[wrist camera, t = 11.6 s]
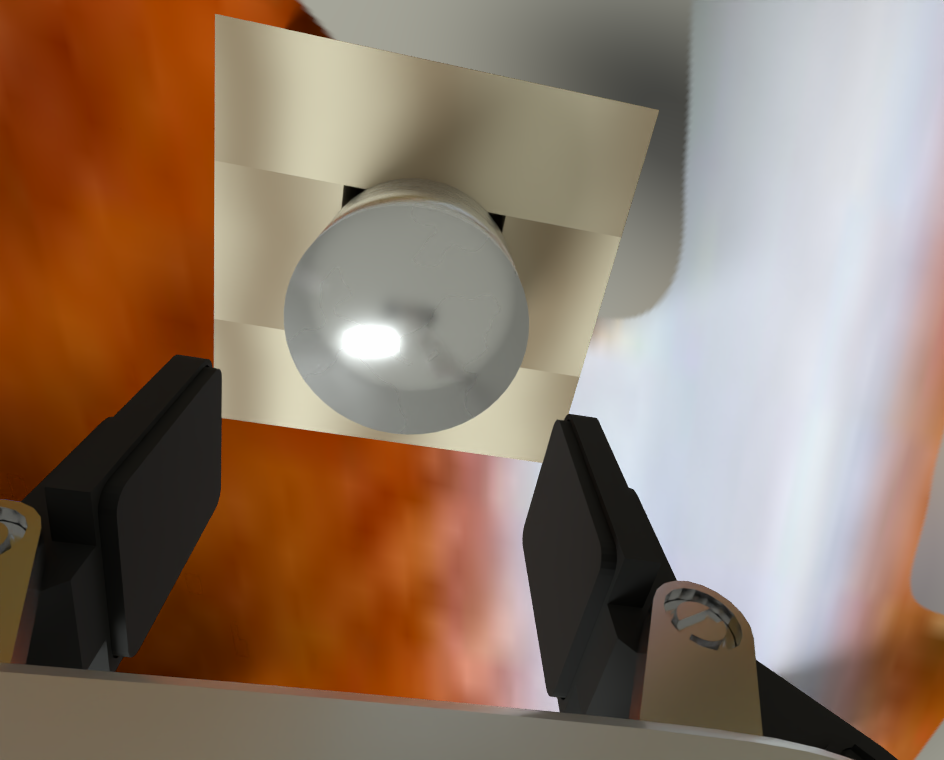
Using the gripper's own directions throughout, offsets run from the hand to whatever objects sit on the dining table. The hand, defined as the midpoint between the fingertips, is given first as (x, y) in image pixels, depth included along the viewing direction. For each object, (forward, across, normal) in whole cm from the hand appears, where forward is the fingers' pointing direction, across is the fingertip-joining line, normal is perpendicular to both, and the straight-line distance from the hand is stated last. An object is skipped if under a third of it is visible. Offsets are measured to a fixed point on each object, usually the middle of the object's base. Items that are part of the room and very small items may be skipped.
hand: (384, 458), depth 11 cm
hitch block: (+20, 0, 0) cm, 20 cm away
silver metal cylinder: (+19, 0, 0) cm, 19 cm away
